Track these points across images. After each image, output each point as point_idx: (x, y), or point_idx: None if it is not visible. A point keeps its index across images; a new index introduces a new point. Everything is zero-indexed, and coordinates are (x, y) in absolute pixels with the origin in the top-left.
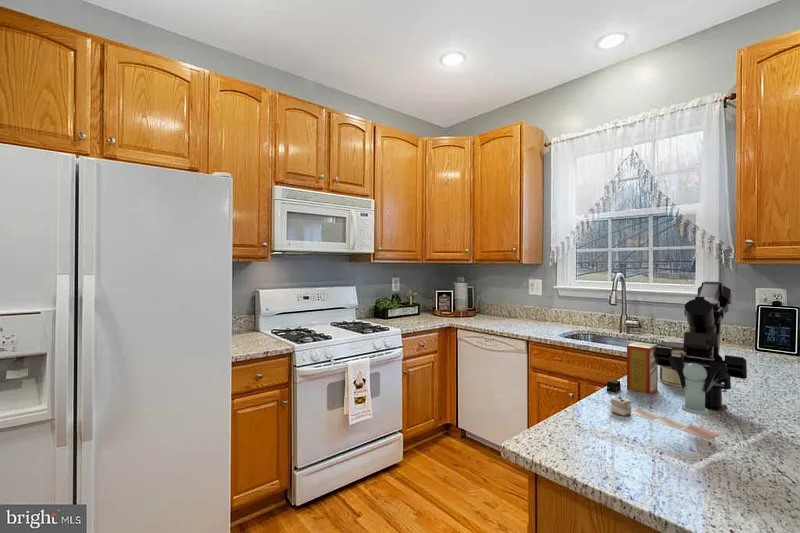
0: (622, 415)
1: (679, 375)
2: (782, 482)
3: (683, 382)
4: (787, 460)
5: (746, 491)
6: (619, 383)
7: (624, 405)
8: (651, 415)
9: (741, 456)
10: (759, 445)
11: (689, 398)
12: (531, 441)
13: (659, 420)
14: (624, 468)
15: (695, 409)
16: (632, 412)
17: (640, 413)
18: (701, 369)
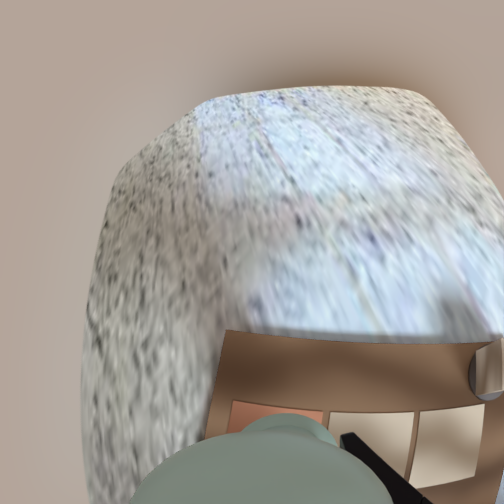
0: (477, 350)
1: (404, 483)
2: (100, 287)
3: (349, 451)
4: (88, 423)
5: (150, 203)
6: None
7: (494, 347)
8: (433, 454)
9: (157, 369)
10: None
11: (296, 430)
12: (425, 113)
13: (400, 435)
14: (305, 129)
15: (269, 426)
16: (477, 415)
17: (460, 434)
18: (138, 496)
